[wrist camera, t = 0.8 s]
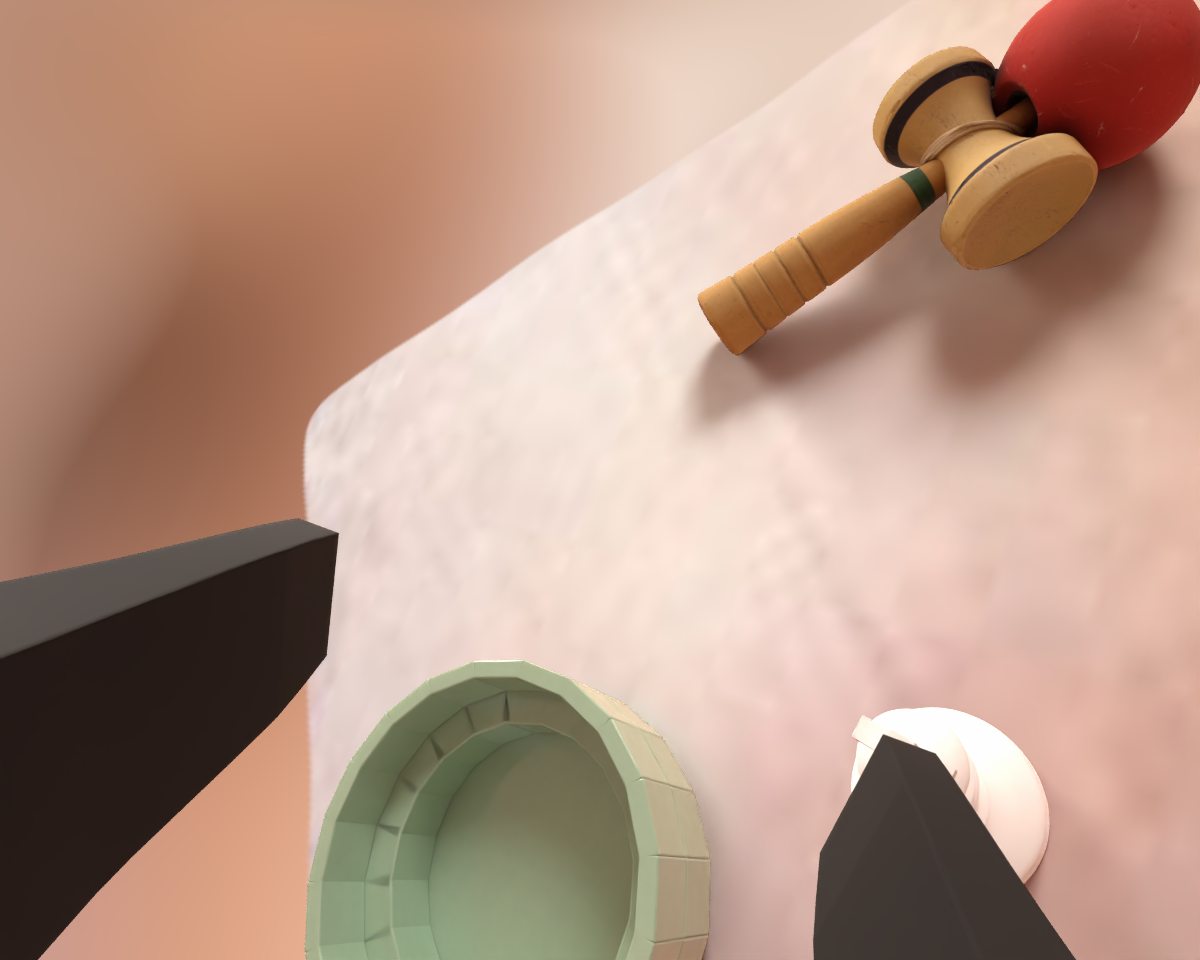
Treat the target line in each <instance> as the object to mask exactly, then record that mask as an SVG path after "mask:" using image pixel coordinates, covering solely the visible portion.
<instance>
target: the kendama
mask: <svg viewBox="0 0 1200 960" xmlns="http://www.w3.org/2000/svg"><path fill="white" fill-rule="evenodd" d="M1199 84H1200V10H1199V9H1198V7H1197V5H1196V4H1195V2H1194V1H1193V0H1052V1H1050V2H1049V3H1048V4H1046V5H1045V6H1044V7H1043V8H1042V9H1040V10H1039V11H1038V12H1037V13H1036V14H1035V15H1034V16H1033V17H1032V18H1031V19H1030V20H1029V21H1028V22H1027V23H1026V25H1025V26H1024V27H1023V28H1022V29H1021V31H1020V32H1019V33H1018V34H1017V36H1016V37H1015V38H1014V40H1013V42H1012V43H1011V45H1010V47H1009V49H1008V51H1007V52H1006V54H1005V56H1004V58H1003V60H1002V63H1001V65H1000V67H999V69H995V68H994V66H993V64H992V63H991V62H990V61H989V60H987V59H986V58H985V57H984V56H982V55H981V54H980V53H978V52H977V51H976V50H974V49H972V48H968V47H951V48H947V49H943V50H940V51H938V52H936V53H933V54H932V55H929V56H927V57H925V58H923V59H922V60H920V61H919V62H917V63H916V64H915V65H913V66H912V67H911V68H910V69H909V70H907V71H906V72H905V73H904V74H903V75H902V76H901V77H900V78H899V79H898V80H897V81H896V82H895V83H894V84H893V86H892V87H891V88H890V90H889V91H888V93H887V94H886V96H885V97H884V99H883V101H882V102H881V104H880V106H879V109H878V111H877V113H876V117H875V119H874V124H873V138H874V141H875V143H876V145H877V147H878V149H879V150H880V152H881V154H882V155H883V157H884V158H885V160H886V161H887V162H888V163H890V164H892V165H893V166H896V167H900V168H916V167H918V168H917V169H915V170H912V171H910V172H908V173H906V174H905V175H902V176H900V177H899V178H897V179H895V180H893V181H891V182H889V183H887V184H885V185H883V186H881V187H879V188H878V189H876V190H874V191H872V192H870V193H868V194H866V195H864V196H862V197H860V198H859V199H857V200H855V201H853V202H851V203H850V204H848V205H846V206H844V207H842V208H841V209H839V210H837V211H835V212H834V213H832V214H830V215H829V216H827V217H825V218H824V219H822V220H820V221H819V222H817V223H815V224H814V225H812V226H810V227H809V228H807V229H805V230H804V231H802V232H801V233H799V234H798V236H797V238H791V239H790V240H788V241H786V242H785V243H783V244H781V245H780V246H778V247H777V248H776V249H775V250H774V251H770V252H769V253H767V254H765V255H764V256H762V257H760V258H759V259H757V260H756V261H754V263H751V264H749V265H747V266H746V267H744V268H743V269H741V270H739V271H738V272H736V273H735V274H734V275H733V277H730V276H729V277H727V278H726V279H724V280H722V281H720V282H718V283H717V284H715V285H713V286H712V287H710V288H708V289H706V290H705V291H703V292H701V293H700V294H699V295H698V301H699V305H700V307H701V309H702V310H703V313H704V315H705V316H706V318H707V320H708V321H709V323H710V325H711V326H712V327H713V329H714V330H715V332H716V333H717V335H718V336H719V337H720V339H721V340H722V342H723V343H724V344H725V345H726V347H727V348H728V349H729V350H730V351H731V352H732V353H733V354H735V355H739V354H741V353H742V352H743V351H744V350H746V349H747V348H748V347H749V346H751V345H752V344H753V343H755V342H756V341H757V340H758V339H760V338H761V337H762V336H763V335H765V334H766V331H767V330H771V329H773V328H774V327H775V326H777V325H778V324H779V323H781V322H782V321H783V320H784V319H785V318H786V317H787V316H789V315H791V314H792V313H794V312H795V311H796V310H798V309H799V308H800V307H802V306H803V305H804V304H805V302H807V301H809V300H811V299H813V298H814V297H815V296H817V295H818V294H819V293H821V292H822V291H824V290H825V289H826V286H830V285H832V284H833V283H835V282H836V281H837V280H839V279H840V278H841V277H843V276H844V275H845V274H847V273H848V272H849V271H851V270H852V269H854V268H855V267H856V266H858V265H859V264H860V263H861V262H863V261H864V260H865V259H867V258H868V257H869V256H870V255H872V254H873V253H874V252H875V251H877V250H878V249H879V248H880V247H882V246H883V245H884V244H885V243H886V242H888V241H889V240H890V239H891V238H892V237H893V236H895V235H896V234H897V233H898V232H899V231H901V230H902V229H903V228H904V227H905V226H907V225H908V224H909V223H910V222H911V221H912V220H914V219H915V218H916V217H917V216H918V215H919V214H921V213H922V212H923V211H924V210H925V209H926V208H927V207H929V206H930V205H931V204H932V203H933V202H934V201H935V200H937V199H938V198H939V197H940V196H942V195H943V194H944V193H945V192H946V193H947V201H948V203H947V210H946V213H945V215H944V217H943V221H942V224H941V230H940V237H941V241H942V243H943V244H944V246H945V247H946V248H947V249H948V250H949V252H950V253H951V254H952V255H953V256H954V257H955V259H956V260H957V261H958V262H959V263H960V264H961V265H962V266H964V267H966V268H968V269H974V270H979V269H987V268H991V267H995V266H999V265H1002V264H1005V263H1007V262H1010V261H1012V260H1014V259H1016V258H1018V257H1021V256H1022V255H1024V254H1026V253H1028V252H1030V251H1031V250H1033V249H1035V248H1036V247H1038V246H1039V245H1041V244H1042V243H1044V242H1045V241H1046V240H1048V239H1049V238H1051V237H1052V236H1053V235H1054V234H1056V233H1057V232H1058V231H1059V230H1060V229H1061V228H1062V227H1063V226H1065V225H1066V224H1067V223H1068V222H1069V221H1070V220H1071V219H1072V218H1073V216H1074V215H1075V214H1076V213H1077V212H1078V210H1079V209H1080V208H1081V207H1082V205H1083V204H1084V203H1085V201H1086V200H1087V198H1088V197H1089V195H1090V193H1091V191H1092V189H1093V187H1094V185H1095V183H1096V179H1097V175H1098V171H1099V170H1103V169H1106V168H1109V167H1112V166H1115V165H1117V164H1120V163H1122V162H1124V161H1126V160H1128V159H1130V158H1132V157H1134V156H1135V155H1137V154H1139V153H1140V152H1142V151H1143V150H1145V149H1147V148H1148V147H1149V146H1151V145H1152V144H1153V143H1155V142H1156V141H1157V140H1158V139H1159V138H1161V137H1162V136H1163V135H1164V134H1165V133H1166V132H1167V131H1168V130H1169V129H1170V128H1171V127H1172V126H1173V125H1174V124H1175V122H1176V121H1177V120H1178V119H1179V118H1180V116H1181V115H1182V114H1183V113H1184V112H1185V110H1186V108H1187V106H1188V105H1189V103H1190V102H1191V100H1192V98H1193V97H1194V95H1195V93H1196V91H1197V89H1198V87H1199Z"/></svg>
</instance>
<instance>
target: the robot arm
mask: <svg viewBox="0 0 1200 960" xmlns="http://www.w3.org/2000/svg"><path fill="white" fill-rule="evenodd" d="M338 536H339V533H337V532H334V531H331V530H329V529H326V528H323V527H320V526H318V525H315V524H312V523H310V522H307V521H304V520H301V519H292V520H285V521H279V522H274V523H269V524H264V525H260V526H254V527H250V528H245V529H241V530H237V531H232V532H228V533H224V534H220V535H215V536H211V537H207V538H203V539H198V540H194V541H190V542H186V543H181V544H177V545H173V546H168V547H164V548H160V549H156V550H151V551H147V552H143V553H138V554H134V555H130V556H126V557H122V558H117V559H113V560H108V561H103V562H98V563H93V564H88V565H83V566H78V567H73V568H68V569H63V570H58V571H53V572H48V573H44V574H39V575H34V576H29V577H24V578H19V579H14V580H9V581H4V582H0V960H38V959H39V958H40V957H41V955H42V954H43V953H44V952H45V951H46V950H47V949H48V948H49V946H50V945H51V944H52V943H53V942H54V941H55V940H56V938H57V937H58V936H59V935H60V934H61V933H62V932H63V931H64V929H65V928H66V927H67V926H68V925H69V924H70V923H71V922H72V920H73V919H74V918H75V917H76V916H77V914H79V912H80V911H81V910H82V909H83V908H84V907H85V906H86V905H87V903H88V902H89V901H90V900H91V899H92V898H93V897H94V896H95V894H96V893H97V892H98V891H99V890H100V889H101V888H102V887H103V886H104V885H105V884H106V883H107V882H108V881H109V880H110V879H111V878H112V877H113V876H114V875H115V874H116V873H117V872H118V871H119V870H120V869H121V868H122V866H123V865H125V864H126V862H127V861H128V860H129V859H130V858H131V857H132V856H133V855H134V854H136V853H137V851H138V850H140V849H141V848H142V847H143V846H144V845H145V844H146V843H147V842H148V841H149V840H150V839H151V838H152V837H153V836H154V835H155V834H156V833H157V832H159V830H161V829H162V828H163V827H164V826H165V825H166V824H167V823H168V822H169V821H170V820H171V819H172V818H173V817H174V816H175V815H176V814H177V813H178V812H180V811H181V810H182V809H183V808H184V807H185V806H186V805H187V804H188V803H189V802H190V801H191V800H192V799H193V798H194V797H195V796H196V795H197V794H198V793H199V792H200V791H201V790H203V789H204V788H205V787H206V786H207V785H208V784H209V783H210V782H211V781H212V780H213V779H214V778H215V777H216V776H217V775H218V774H219V773H220V772H221V771H222V770H223V769H224V768H226V767H227V765H229V764H230V763H231V762H232V761H233V760H234V759H235V758H236V757H237V756H238V755H239V754H240V753H241V752H242V751H243V750H244V749H245V748H246V747H247V746H248V745H249V744H250V743H251V742H252V741H253V740H254V739H255V738H256V737H257V736H258V735H260V734H261V733H262V732H263V731H264V730H265V729H266V728H267V727H268V726H269V725H270V724H271V723H272V722H273V721H274V720H275V718H277V717H278V715H279V714H280V713H281V712H282V711H283V710H284V708H285V707H286V706H287V705H288V703H289V702H290V701H291V700H292V699H293V698H294V696H295V695H296V694H297V693H298V692H299V690H300V689H301V688H302V687H303V685H304V684H305V683H306V681H307V680H308V679H309V678H310V676H311V675H312V674H313V673H314V671H315V670H316V669H317V667H318V666H319V665H320V664H321V662H322V661H323V660H324V658H325V657H326V656H327V646H328V636H329V626H330V616H331V606H332V596H333V586H334V576H335V566H336V556H337V546H338ZM813 947H814V960H1076V959H1075V958H1074V956H1073V955H1072V953H1071V952H1070V951H1069V949H1068V948H1067V946H1066V945H1065V944H1064V942H1063V941H1062V939H1061V938H1060V936H1059V935H1058V933H1057V932H1056V931H1055V929H1054V928H1053V926H1052V925H1051V923H1050V922H1049V921H1048V919H1047V918H1046V916H1045V915H1044V913H1043V912H1042V910H1041V909H1040V907H1039V906H1038V904H1037V903H1036V902H1035V900H1034V899H1033V897H1032V896H1031V894H1030V893H1029V891H1028V890H1027V888H1026V887H1025V885H1024V884H1023V882H1022V881H1021V879H1020V878H1019V876H1018V875H1017V873H1016V872H1015V870H1014V869H1013V867H1012V866H1011V864H1010V863H1009V861H1008V860H1007V858H1006V857H1005V855H1004V854H1003V852H1002V851H1001V849H1000V848H999V846H998V845H997V843H996V842H995V840H994V839H993V837H992V836H991V834H990V833H989V831H988V830H987V828H986V827H985V825H984V824H983V822H982V821H981V819H980V817H979V816H978V814H977V813H976V811H975V810H974V808H973V807H972V805H971V804H970V802H969V801H968V799H967V798H966V796H965V795H964V793H963V792H962V790H961V789H960V787H959V786H958V784H957V783H956V781H955V780H954V778H953V777H952V775H951V774H950V773H949V771H948V770H947V768H946V767H945V765H944V764H943V763H942V761H941V760H940V759H939V757H938V756H937V754H936V753H933V752H931V751H928V750H925V749H922V748H920V747H917V746H914V745H912V744H909V743H906V742H903V741H901V740H898V739H895V738H893V737H890V736H887V735H885V734H883V735H882V737H881V739H880V740H879V742H878V744H877V746H876V748H875V750H874V752H873V754H872V756H871V757H870V759H869V761H868V763H867V765H866V767H865V769H864V771H863V773H862V774H861V776H860V778H859V780H858V782H857V784H856V786H855V788H854V790H853V791H852V793H851V795H850V797H849V799H848V801H847V803H846V805H845V807H844V808H843V810H842V812H841V814H840V816H839V818H838V820H837V822H836V824H835V826H834V827H833V829H832V831H831V833H830V835H829V837H828V839H827V841H826V843H825V844H824V846H823V848H822V850H821V852H820V859H819V871H818V882H817V894H816V907H815V922H814V938H813Z"/></svg>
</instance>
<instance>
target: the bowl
mask: <svg viewBox="0 0 1200 960" xmlns="http://www.w3.org/2000/svg"><path fill="white" fill-rule="evenodd" d="M324 817H325V818H324V819H323V824H322V828H321V832H320V836H319V840H318V844H317V848H316V852H315V856H314V860H313V864H312V869H311V873H310V877H309V883H308V889H307V912H306V935H305V952H306V954H305V956H306V960H702V956H703V953H704V950H705V946H706V943H707V940H708V935H707V934H708V933H709V906H710V864H711V863H710V860H709V859H710V855H709V851H708V847H707V842H706V838H705V834H704V830H703V826H702V822H701V818H700V814H699V810H698V806H697V801H696V797H695V794H694V793H693V789H692V787H691V785H690V784H689V782H688V780H687V778H686V777H685V775H684V773H683V771H682V770H681V768H680V766H679V764H678V763H677V761H676V759H675V757H674V756H673V754H672V752H671V750H670V749H669V747H668V745H667V743H666V742H665V740H663V738H662V736H660V735H659V734H658V733H657V732H656V731H655V730H654V729H653V728H652V727H650V726H649V725H648V724H647V723H646V722H645V721H644V720H643V719H642V718H640V717H639V716H638V715H637V714H636V713H635V712H634V711H633V710H632V709H630V708H629V707H628V706H627V705H626V704H624V703H622V702H621V701H619V700H616V699H614V698H612V697H610V696H608V695H606V694H603V693H601V692H599V691H597V690H595V689H593V688H590V687H588V686H586V685H584V684H582V683H579V682H577V681H575V680H573V679H571V678H568V677H566V676H563V675H561V674H558V673H556V672H553V671H551V670H548V669H545V668H543V667H540V666H538V665H535V664H533V663H530V662H528V661H525V660H491V661H475V662H470V663H468V664H465V665H463V666H460V667H458V668H455V669H453V670H450V671H448V672H445V673H443V674H440V675H438V676H435V677H433V678H430V679H429V680H427V681H425V682H424V683H423V684H422V685H420V686H419V687H418V688H417V689H415V690H414V691H413V692H412V693H410V694H409V695H408V696H407V697H405V698H404V699H403V700H402V701H400V702H399V703H398V704H397V705H395V706H394V707H393V708H392V709H390V710H389V711H388V712H387V714H385V715H384V716H383V718H382V719H381V720H380V722H379V723H378V724H377V726H376V727H375V728H374V730H373V731H372V732H371V734H370V735H369V736H368V738H367V739H366V740H365V741H364V743H363V744H362V745H361V747H360V748H359V749H358V751H357V752H356V753H355V755H354V756H353V757H352V760H350V762H349V764H348V766H347V768H346V770H345V773H344V775H343V777H342V779H341V781H340V783H339V785H338V788H337V790H336V792H335V794H334V796H333V798H332V800H331V803H330V805H329V807H328V809H327V811H326V813H325V816H324Z"/></svg>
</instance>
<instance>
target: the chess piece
mask: <svg viewBox="0 0 1200 960" xmlns="http://www.w3.org/2000/svg"><path fill="white" fill-rule="evenodd" d="M883 734H885V735H887V736H890V737H893V738H895V739H898V740H901V741H903V742H906V743H909V744H912V745H914V746H917V747H920V748H922V749H925V750H928V751H931V752H933V753H936V754H937V756H938V757H939V759H940V760H941V761H942V763H943V764H944V765H945V767H946V768H947V770H948V771H949V773H950V774H951V775H952V777H953V778H954V780H955V781H956V783H957V784H958V786H959V787H960V789H961V790H962V792H963V793H964V795H965V796H966V798H967V799H968V801H969V802H970V804H971V805H972V807H973V808H974V810H975V811H976V813H977V814H978V816H979V817H980V819H981V821H982V822H983V824H984V825H985V827H986V828H987V830H988V831H989V833H990V834H991V836H992V837H993V839H994V840H995V842H996V843H997V845H998V846H999V848H1000V849H1001V851H1002V852H1003V854H1004V855H1005V857H1006V858H1007V860H1008V861H1009V863H1010V864H1011V866H1012V867H1013V869H1014V870H1015V872H1016V873H1017V875H1018V876H1019V878H1020V879H1021V881H1022V882H1023V884H1024V883H1025V882H1026V881H1027V880H1028V879H1029V878H1030V877H1031V875H1032V874H1033V873H1034V872H1035V870H1036V869H1037V867H1038V866H1039V864H1040V862H1041V860H1042V858H1043V855H1044V853H1045V850H1046V847H1047V843H1048V837H1049V828H1050V819H1049V809H1048V803H1047V799H1046V795H1045V792H1044V789H1043V786H1042V784H1041V781H1040V779H1039V777H1038V775H1037V773H1036V771H1035V770H1034V768H1033V766H1032V765H1031V763H1030V762H1029V760H1028V759H1027V758H1026V756H1025V755H1024V754H1023V752H1022V751H1021V750H1020V749H1019V748H1018V747H1017V746H1016V745H1015V744H1014V743H1013V742H1012V741H1011V740H1010V739H1009V738H1008V737H1007V736H1005V735H1004V734H1003V733H1001V732H1000V731H999V730H997V729H996V728H994V727H993V726H991V725H990V724H988V723H986V722H984V721H982V720H980V719H978V718H976V717H974V716H971V715H969V714H966V713H963V712H959V711H955V710H951V709H944V708H920V709H914V710H913V709H897V710H892V711H889V712H886V713H884V714H882V715H880V716H878V717H876V718H875V719H874V720H873V721H872V720H871V719H869V718H867V717H865V716H864V715H862V717H861V719H860V721H859V723H858V725H857V727H856V728H855V730H854V732H853V734H852V737H853V738H854V739H856V740H857V741H859V742H858V746H857V752H856V760H855V763H854V767H853V772H852V780H851V793H852V791H853V790H854V788H855V786H856V784H857V782H858V780H859V778H860V776H861V774H862V773H863V771H864V769H865V767H866V765H867V763H868V761H869V759H870V757H871V756H872V754H873V752H874V750H875V748H876V746H877V744H878V742H879V740H880V739H881V737H882V735H883Z"/></svg>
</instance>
